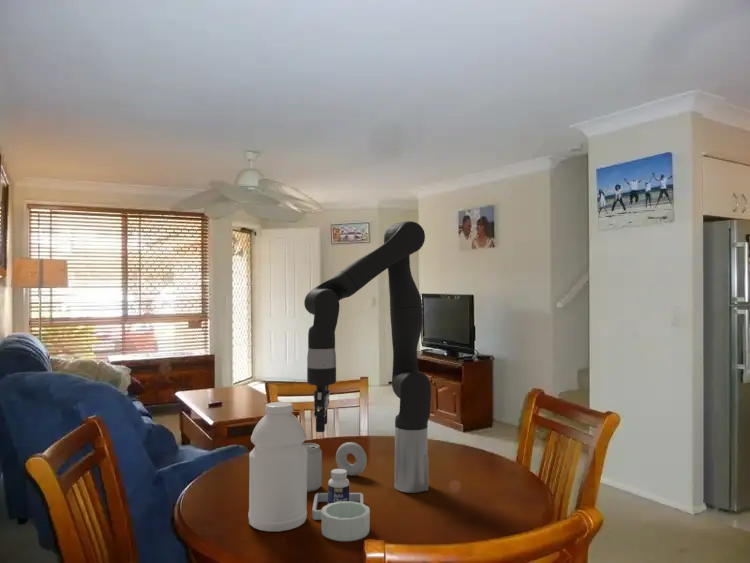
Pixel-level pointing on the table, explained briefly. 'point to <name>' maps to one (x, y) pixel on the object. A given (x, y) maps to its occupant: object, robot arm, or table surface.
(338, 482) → the pill bottle
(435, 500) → the table surface
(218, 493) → the table surface
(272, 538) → the table surface
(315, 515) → the tray
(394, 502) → the table surface
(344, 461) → the donut
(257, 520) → the bottle
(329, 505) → the bowl
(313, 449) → the can
